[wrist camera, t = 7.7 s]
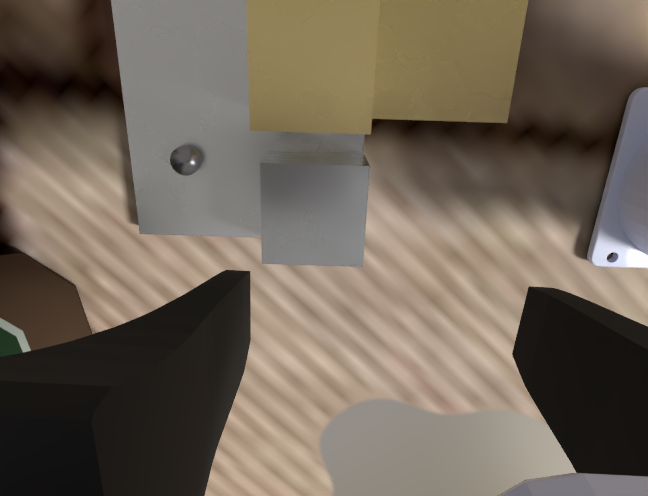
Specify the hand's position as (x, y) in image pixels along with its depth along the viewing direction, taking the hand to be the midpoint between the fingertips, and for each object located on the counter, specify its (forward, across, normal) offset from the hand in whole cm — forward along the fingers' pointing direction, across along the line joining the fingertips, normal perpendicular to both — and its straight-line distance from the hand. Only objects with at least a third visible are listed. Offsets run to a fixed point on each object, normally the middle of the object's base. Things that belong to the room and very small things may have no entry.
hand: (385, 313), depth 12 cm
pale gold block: (+9, -1, -7) cm, 12 cm away
